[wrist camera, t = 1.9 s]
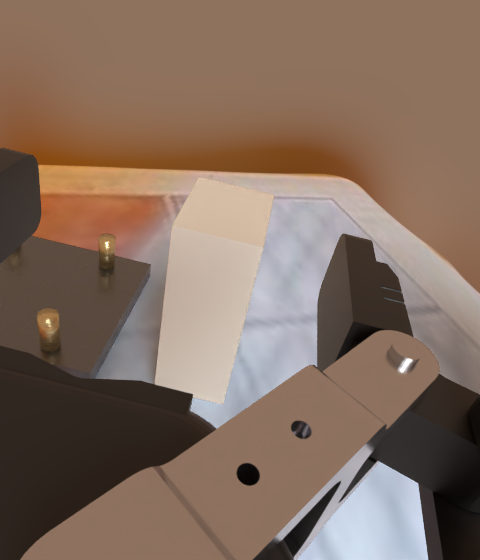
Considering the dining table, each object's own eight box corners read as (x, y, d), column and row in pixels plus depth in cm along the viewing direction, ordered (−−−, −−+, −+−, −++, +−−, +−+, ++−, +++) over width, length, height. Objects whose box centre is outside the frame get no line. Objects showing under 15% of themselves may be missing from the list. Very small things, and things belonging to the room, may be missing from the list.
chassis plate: (149, 276, 37) (152, 238, 35) (90, 385, 28) (89, 343, 26) (-14, 237, 38) (-21, 197, 35) (-129, 332, 28) (-149, 286, 26)
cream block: (237, 340, 33) (274, 194, 26) (223, 404, 29) (263, 247, 21) (178, 326, 33) (199, 177, 26) (154, 388, 29) (171, 225, 22)
